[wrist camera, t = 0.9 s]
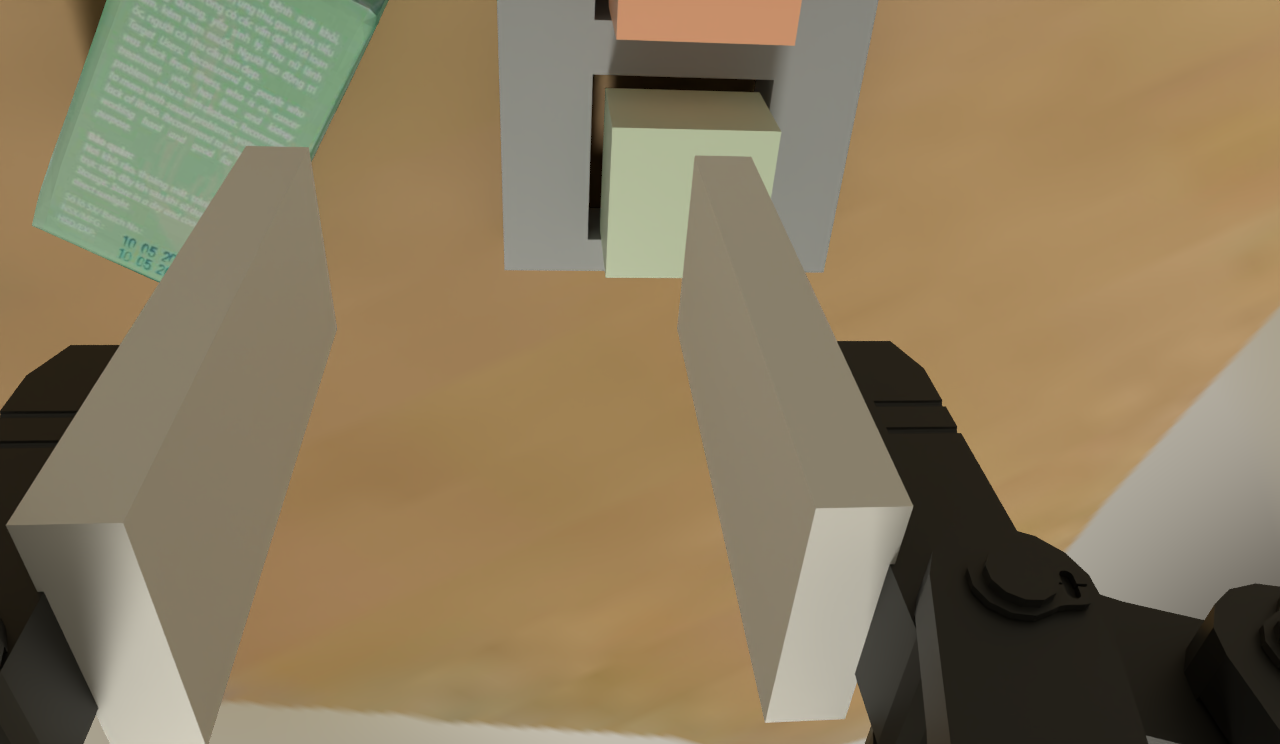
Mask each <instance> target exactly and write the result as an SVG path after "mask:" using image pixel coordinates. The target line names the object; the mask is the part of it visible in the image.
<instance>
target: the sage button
mask: <svg viewBox="0 0 1280 744" xmlns="http://www.w3.org/2000/svg"><path fill="white" fill-rule="evenodd" d="M780 137H781V130H780V128H779V126H778V125H777V123H776V121H775V119H774V117H773V116H772V114H771V112H770V110H769V108H768V107H767V105H766V103H765V101H764V100H763V98H762V96H761V94H760V92H729V91H695V90H660V89H626V88H605V111H604V136H603V162H602V187H601V212H600V235H601V243H602V251H603V260H604V268H605V276H606V278H682V277H683V267H684V257H685V247H686V237H687V227H688V217H689V207H690V198H691V188H692V178H693V168H694V158H695V155H698V156H745V157H752V159H753V161H754V164H755V166H756V168H757V170H758V172H759V174H760V177H761V179H762V181H763V183H764V185H765V187H766V189H767V192H768V194H769V196H770V198H771V195H772V189H773V182H774V176H775V170H776V163H777V157H778V150H779V144H780Z"/></svg>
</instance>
